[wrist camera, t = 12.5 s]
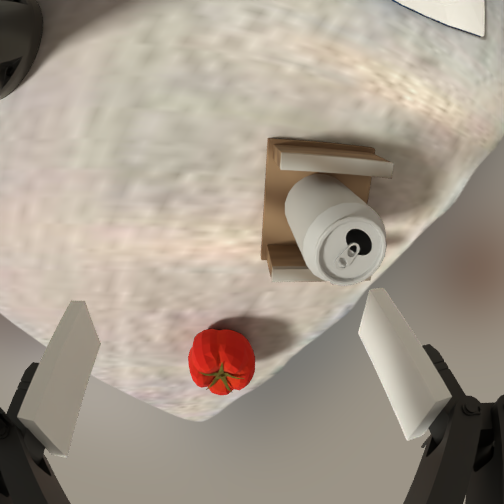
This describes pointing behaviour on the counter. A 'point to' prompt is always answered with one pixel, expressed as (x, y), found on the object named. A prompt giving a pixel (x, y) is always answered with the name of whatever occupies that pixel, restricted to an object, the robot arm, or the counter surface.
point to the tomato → (221, 361)
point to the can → (335, 230)
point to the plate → (451, 13)
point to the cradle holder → (292, 171)
